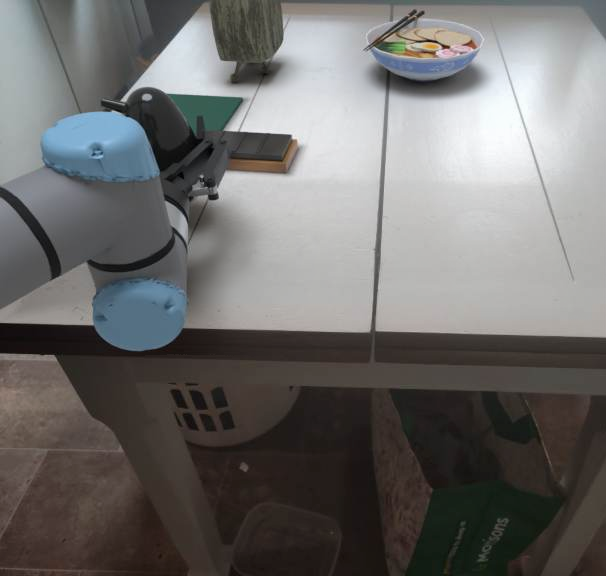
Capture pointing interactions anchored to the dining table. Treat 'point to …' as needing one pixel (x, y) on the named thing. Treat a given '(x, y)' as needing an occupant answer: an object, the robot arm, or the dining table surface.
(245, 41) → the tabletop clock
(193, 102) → the mat
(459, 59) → the ramen bowl
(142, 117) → the pump dispenser
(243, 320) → the dining table surface
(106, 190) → the robot arm
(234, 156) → the whetstone on wooden base
